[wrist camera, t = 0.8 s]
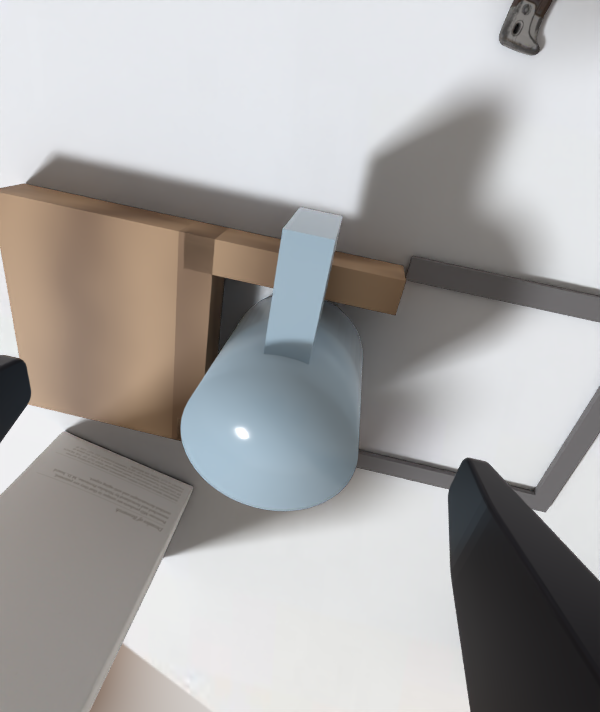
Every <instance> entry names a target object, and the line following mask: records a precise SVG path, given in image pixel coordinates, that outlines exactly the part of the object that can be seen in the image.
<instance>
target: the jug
mask: <svg viewBox="0 0 600 712" xmlns="http://www.w3.org/2000/svg"><path fill="white" fill-rule="evenodd" d="M342 218H343V216H340V215H336V214H331V213H326V212H322V211H317V210H312V209H308V208H303V207H300V208H299V209H298V210H297V211H296V213H295V214H294V215H293V216H292V218H291V219H290V220H289V221H288V223H287V224H286V225H285V226H284V228H283V229H282V236H281V242H280V249H279V255H278V262H277V268H276V275H275V282H274V288H273V295H272V296H271V297H268V298H265V299H264V300H262V301H260V302H258V303H257V304H255V305H254V306H253V307H251V308H250V309H249V310H248V311H247V312H246V314H245V315H244V316H243V318H242V319H241V320H240V322H239V323H238V325H237V327H236V328H235V330H234V331H233V333H232V334H231V336H230V337H229V339H228V340H227V342H226V344H225V345H224V347H223V348H222V350H221V351H220V353H219V354H218V356H217V357H216V359H215V361H214V362H213V364H212V365H211V367H210V368H209V370H208V371H207V373H206V374H205V376H204V377H203V379H202V381H201V382H200V384H199V385H198V387H197V388H196V390H195V391H194V393H193V394H192V396H191V398H190V399H189V401H188V403H187V405H186V407H185V408H184V412H183V415H182V419H181V438H182V443H183V447H184V449H185V452H186V454H187V456H188V458H189V460H190V462H191V464H192V465H193V467H194V468H195V470H196V471H197V472H198V473H199V474H200V475H201V477H202V478H203V479H204V480H206V481H207V482H208V483H209V484H210V485H211V486H212V487H214V488H215V489H216V490H218V491H219V492H221V493H222V494H224V495H226V496H227V497H229V498H231V499H233V500H235V501H238V502H240V503H243V504H245V505H248V506H252V507H255V508H260V509H265V510H273V511H294V510H301V509H306V508H310V507H313V506H317V505H319V504H321V503H324V502H326V501H328V500H329V499H331V498H332V497H334V496H335V495H337V494H338V493H339V492H340V491H341V490H342V489H343V488H344V487H345V486H346V485H347V484H348V482H349V481H350V479H351V477H352V476H353V473H354V471H355V469H356V465H357V461H358V449H359V428H360V407H361V386H362V364H363V349H362V343H361V339H360V337H359V334H358V332H357V330H356V328H355V326H354V325H353V323H352V322H351V320H350V319H349V318H348V317H347V316H346V315H345V314H344V313H343V312H342V311H341V310H340V309H339V308H337V307H336V306H335V305H333V304H331V303H330V302H328V301H326V300H325V296H326V291H327V287H328V282H329V278H330V273H331V268H332V264H333V259H334V255H335V250H336V246H337V241H338V236H339V232H340V227H341V223H342Z"/></svg>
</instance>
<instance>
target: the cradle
mask: <svg viewBox="0 0 600 712" xmlns="http://www.w3.org/2000/svg"><path fill="white" fill-rule="evenodd" d="M280 242H281V239H278V238H273V237H269V236H264V235H259V234H255V233H250V232H245V231H241V230H236V229H232V228H227V227H222V226H218V225H213V224H209V223H204V222H199V221H195V220H190V219H186V218H181V217H176V216H172V215H167V214H163V213H158V212H153V211H149V210H144V209H139V208H135V207H130V206H126V205H121V204H116V203H112V202H107V201H103V200H98V199H93V198H89V197H84V196H80V195H75V194H70V193H66V192H61V191H56V190H52V189H47V188H43V187H38V186H33V185H29V184H19V185H14V186H9V187H4V188H0V249H1V254H2V260H3V266H4V272H5V277H6V283H7V289H8V295H9V300H10V306H11V312H12V318H13V323H14V329H15V335H16V341H17V346H18V352H19V358H20V359H22V360H24V362H25V363H26V366H27V370H28V376H29V381H30V387H31V398H30V401H29V403H28V404H29V405H33V406H37V407H41V408H46V409H50V410H54V411H58V412H62V413H66V414H71V415H75V416H79V417H83V418H87V419H91V420H96V421H100V422H104V423H108V424H112V425H116V426H121V427H125V428H129V429H133V430H137V431H141V432H146V433H150V434H154V435H158V436H162V437H166V438H171V439H175V440H179V441H182V438H181V419H182V415H183V412H184V408H185V407H186V405H187V403H188V401H189V399H190V398H191V396H192V394H193V393H194V391H195V390H196V388H197V387H198V385H199V384H200V382H201V381H202V379H203V377H204V376H205V374H206V373H207V371H208V370H209V368H210V367H211V365H212V364H213V362H214V361H215V359H216V357H217V356H218V346H219V335H220V324H221V313H222V302H223V291H224V280H225V278H229V279H234V280H238V281H243V282H247V283H252V284H256V285H261V286H265V287H270V288H274V282H275V275H276V268H277V262H278V255H279V249H280ZM405 283H406V278H405V273H404V267H403V266H402V265H398V264H393V263H388V262H384V261H379V260H375V259H370V258H365V257H361V256H356V255H352V254H347V253H342V252H338V251H335V255H334V259H333V264H332V268H331V273H330V278H329V282H328V287H327V291H326V296H325V300H328V301H333V302H337V303H342V304H346V305H351V306H355V307H360V308H364V309H369V310H373V311H378V312H382V313H387V314H391V315H396V312H397V308H398V305H399V302H400V299H401V296H402V292H403V289H404V286H405Z"/></svg>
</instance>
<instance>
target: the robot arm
mask: <svg viewBox="0 0 600 712" xmlns="http://www.w3.org/2000/svg"><path fill="white" fill-rule="evenodd" d="M30 398H31V387H30V381H29V376H28V370H27V366H26V363H25V362H24V360H22V359H20V358H16V357H11V356H7V355H0V443H1V441H2V440H3V438H4V437H5V435H6V434H7V433H8V431H9V430H10V428H11V427H12V426H13V424H14V423H15V421H16V420H17V419H18V417H19V416H20V414H21V413H22V412H23V410H24V409H25V407H26V406H27V405H28V403H29V401H30ZM448 513H449V546H450V570H451V580H452V587H453V594H454V601H455V608H456V615H457V622H458V629H459V636H460V643H461V649H462V656H463V663H464V670H465V677H466V684H467V691H468V698H469V705H470V712H600V581H599V580H598V579H597V578H596V577H595V576H594V574H593V573H592V572H591V571H590V570H589V569H588V568H587V567H586V566H585V565H584V564H583V563H582V562H581V561H580V560H579V559H578V558H577V556H576V555H575V554H574V553H573V552H572V551H571V550H570V549H569V548H568V547H567V546H566V545H565V544H564V543H563V542H562V541H561V540H560V538H559V537H558V536H557V535H556V534H555V533H554V532H553V531H552V530H551V529H550V528H549V527H548V526H547V525H546V524H545V523H544V521H543V520H542V519H541V518H540V517H539V516H538V515H537V514H536V513H535V512H534V511H533V510H532V509H531V508H530V507H529V506H528V505H527V503H526V502H525V501H524V500H523V499H522V498H521V497H520V496H519V495H518V494H517V493H516V492H515V491H514V490H513V489H512V488H511V486H510V485H509V484H508V483H507V482H506V481H505V480H504V479H503V478H502V477H501V476H500V475H499V474H498V473H497V472H496V471H495V470H494V468H493V467H492V466H491V465H490V464H489V463H487V462H485V461H482V460H477V459H473V458H465V459H464V460H463V461H462V463H461V465H460V467H459V469H458V471H457V473H456V475H455V477H454V479H453V481H452V483H451V486H450V489H449V493H448Z"/></svg>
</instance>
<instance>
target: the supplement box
mask: <svg viewBox="0 0 600 712" xmlns="http://www.w3.org/2000/svg"><path fill="white" fill-rule="evenodd" d="M192 490H193V487H192V486H191V485H188V484H186V483H183V482H181V481H179V480H176V479H174V478H172V477H169V476H167V475H165V474H162V473H160V472H158V471H155V470H153V469H151V468H148V467H146V466H144V465H142V464H139V463H137V462H135V461H132V460H130V459H128V458H125V457H123V456H121V455H118V454H116V453H114V452H112V451H109V450H107V449H104V448H102V447H100V446H97V445H95V444H92V443H90V442H88V441H86V440H83V439H81V438H79V437H77V436H74V435H72V434H70V433H68V432H65V431H64V432H62V433H61V434H60V435H59V436H58V437H57V438H56V439H55V440H54V441H53V442H52V443H51V444H50V445H49V446H48V447H47V448H46V449H45V450H44V451H43V452H42V453H41V454H40V455H39V456H38V457H37V458H36V459H35V460H34V461H33V463H32V464H31V465H30V466H29V467H28V468H27V469H26V470H25V471H24V472H23V473H22V474H21V475H20V476H19V477H18V478H17V479H16V480H15V481H14V482H13V483H12V484H11V485H10V486H9V487H8V488H7V489H6V490H5V491H4V492H3V493H2V494H1V495H0V712H89V711H90V709H91V707H92V705H93V703H94V701H95V699H96V697H97V695H98V692H99V690H100V688H101V686H102V684H103V682H104V680H105V678H106V676H107V674H108V672H109V669H110V668H111V666H112V663H113V661H114V659H115V657H116V655H117V653H118V651H119V649H120V647H121V645H122V643H123V641H124V639H125V636H126V634H127V632H128V630H129V628H130V626H131V624H132V622H133V620H134V618H135V616H136V613H137V611H138V609H139V607H140V605H141V603H142V601H143V599H144V597H145V595H146V593H147V590H148V588H149V586H150V584H151V582H152V580H153V578H154V576H155V573H156V571H157V569H158V567H159V565H160V563H161V561H162V558H163V556H164V554H165V552H166V549H167V547H168V545H169V543H170V540H171V538H172V536H173V534H174V531H175V529H176V527H177V525H178V523H179V520H180V518H181V516H182V514H183V511H184V509H185V507H186V504H187V502H188V500H189V498H190V495H191V493H192Z"/></svg>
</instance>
